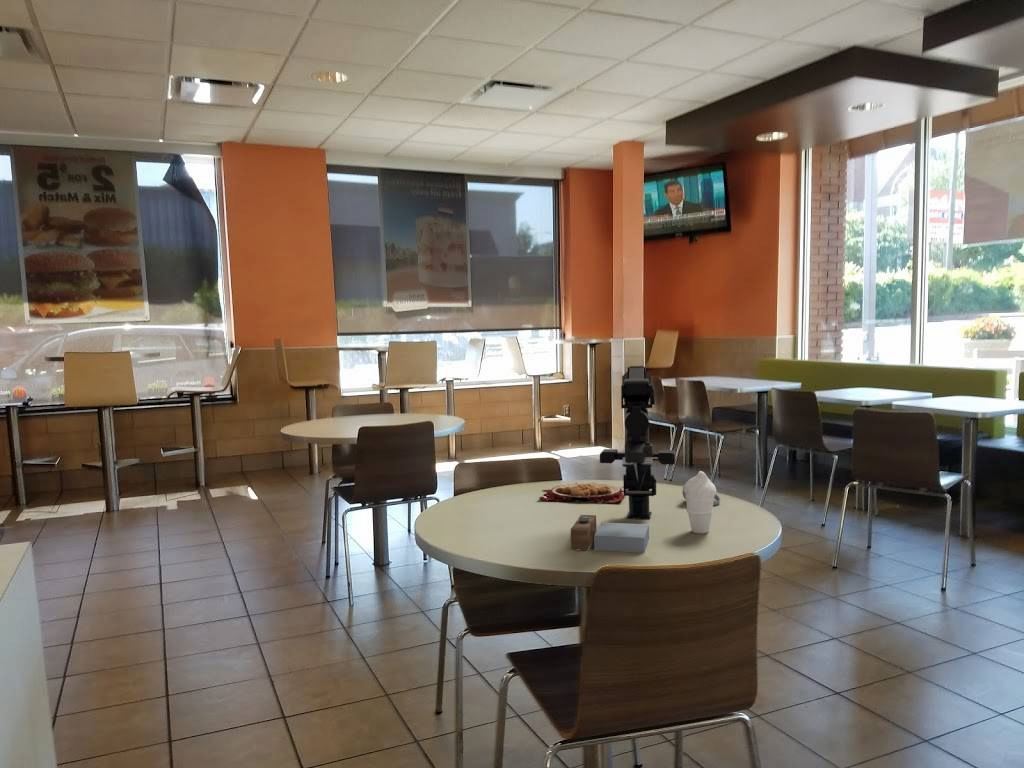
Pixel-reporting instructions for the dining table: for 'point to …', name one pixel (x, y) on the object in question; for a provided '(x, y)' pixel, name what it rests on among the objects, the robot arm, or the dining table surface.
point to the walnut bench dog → (583, 532)
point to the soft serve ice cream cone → (699, 502)
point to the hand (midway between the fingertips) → (638, 490)
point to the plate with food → (585, 492)
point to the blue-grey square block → (622, 537)
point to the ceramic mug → (714, 497)
